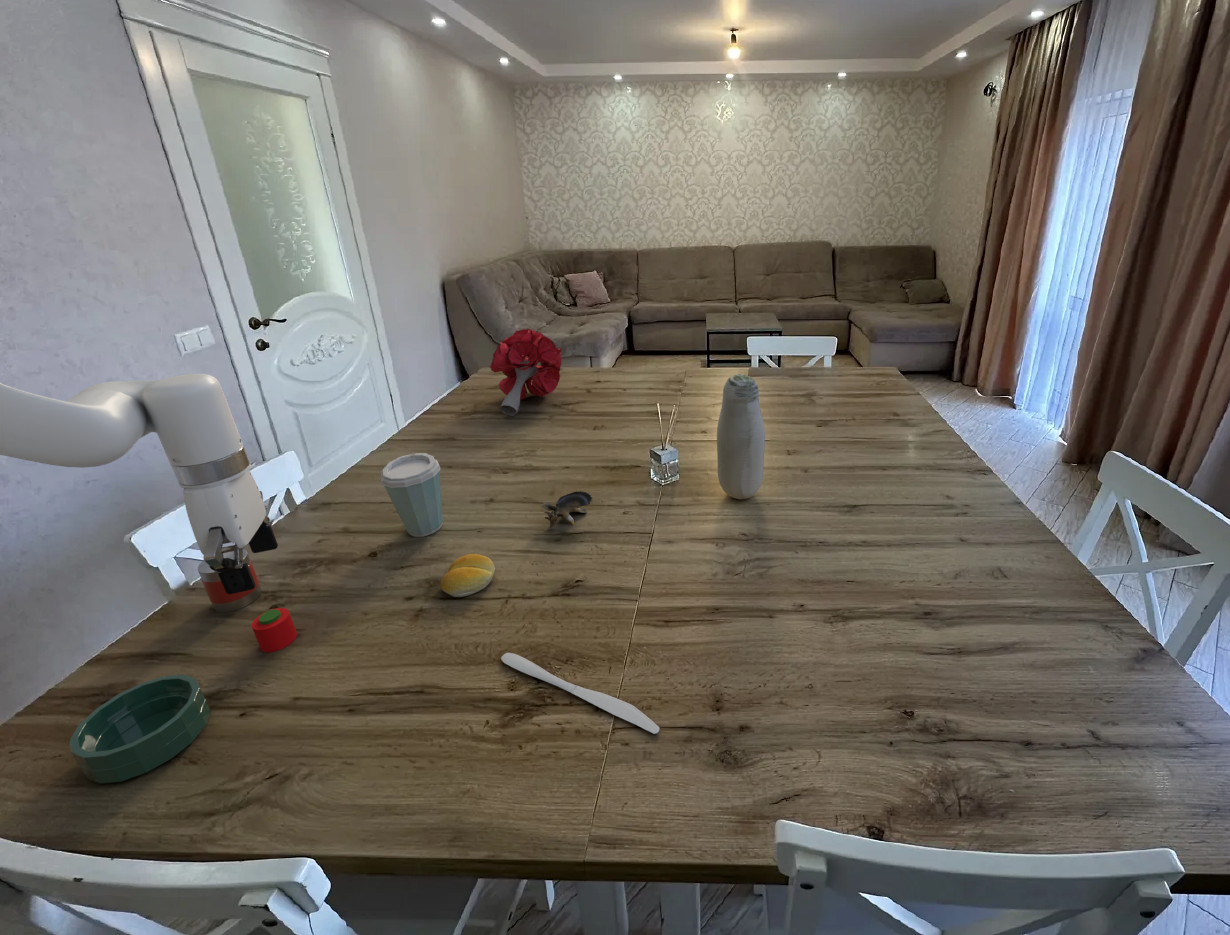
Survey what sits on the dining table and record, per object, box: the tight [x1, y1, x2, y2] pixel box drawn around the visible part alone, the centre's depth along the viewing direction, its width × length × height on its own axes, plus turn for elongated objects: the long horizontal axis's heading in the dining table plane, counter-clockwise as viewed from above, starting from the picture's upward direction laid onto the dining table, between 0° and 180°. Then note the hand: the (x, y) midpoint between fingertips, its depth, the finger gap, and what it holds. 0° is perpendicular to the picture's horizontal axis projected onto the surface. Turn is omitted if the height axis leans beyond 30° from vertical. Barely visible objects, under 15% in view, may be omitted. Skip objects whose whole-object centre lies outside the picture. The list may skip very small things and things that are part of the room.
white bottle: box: [716, 373, 766, 500], centre depth 119 cm, size 10×10×28 cm
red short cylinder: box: [251, 607, 298, 653], centre depth 84 cm, size 5×5×5 cm
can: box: [197, 548, 263, 613], centre depth 93 cm, size 6×6×8 cm
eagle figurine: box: [540, 490, 593, 528], centre depth 114 cm, size 8×7×9 cm
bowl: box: [69, 673, 212, 785], centre depth 69 cm, size 11×11×5 cm
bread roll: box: [440, 553, 496, 598], centre depth 97 cm, size 8×9×4 cm
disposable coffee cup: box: [380, 452, 444, 538], centre depth 110 cm, size 11×11×15 cm
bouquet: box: [489, 328, 563, 416], centre depth 176 cm, size 22×24×30 cm
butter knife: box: [500, 652, 660, 735], centre depth 76 cm, size 1×27×3 cm
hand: (254, 569), depth 81 cm, fingers open, 9 cm apart
